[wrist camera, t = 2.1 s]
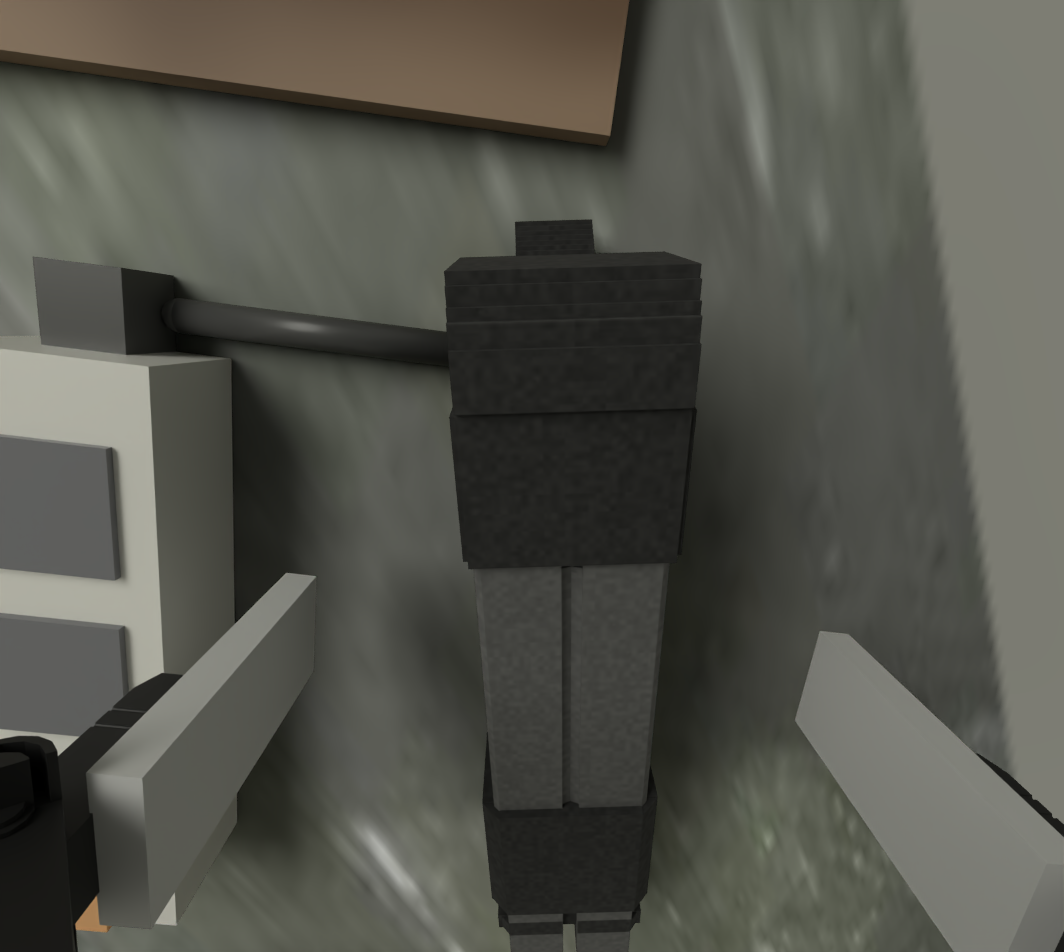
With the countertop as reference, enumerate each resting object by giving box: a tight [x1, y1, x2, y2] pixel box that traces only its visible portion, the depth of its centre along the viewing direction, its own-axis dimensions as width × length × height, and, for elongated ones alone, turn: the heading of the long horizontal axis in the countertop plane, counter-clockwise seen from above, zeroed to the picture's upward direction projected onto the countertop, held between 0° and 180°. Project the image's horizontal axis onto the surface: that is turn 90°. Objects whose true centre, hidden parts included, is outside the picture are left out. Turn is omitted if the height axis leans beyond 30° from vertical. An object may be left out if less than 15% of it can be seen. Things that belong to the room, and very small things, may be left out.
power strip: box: [0, 257, 449, 932], centre depth 15 cm, size 18×12×4 cm, turn 173°
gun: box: [444, 220, 702, 952], centre depth 16 cm, size 4×20×10 cm, turn 2°
